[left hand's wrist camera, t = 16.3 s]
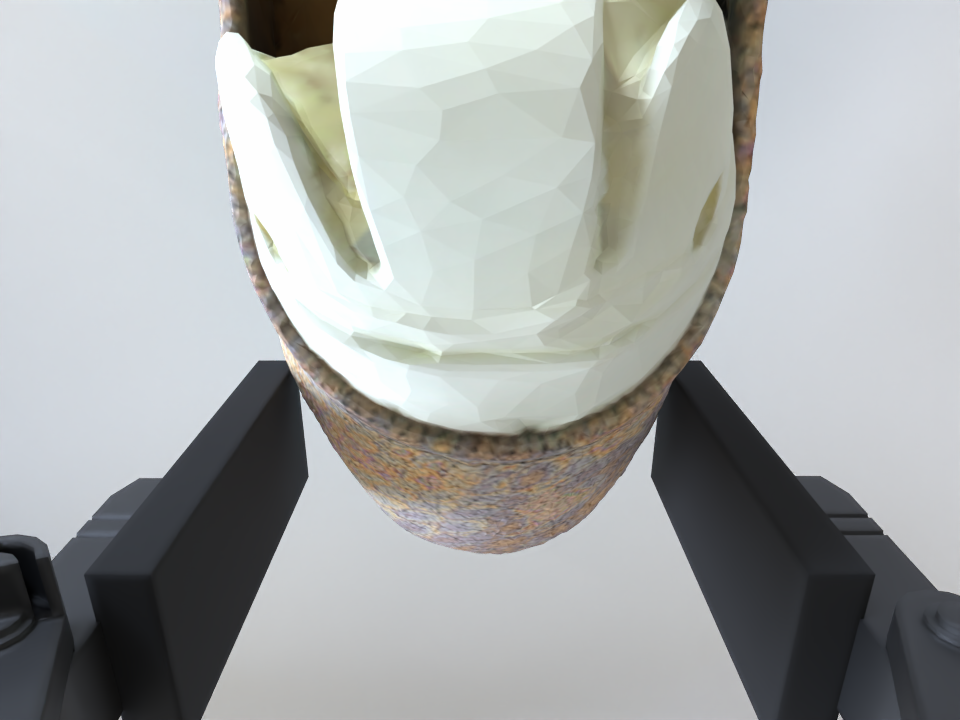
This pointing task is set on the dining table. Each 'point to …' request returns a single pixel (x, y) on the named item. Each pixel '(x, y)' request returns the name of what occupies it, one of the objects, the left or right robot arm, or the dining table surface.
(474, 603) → the dining table surface
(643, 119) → the speckled felt slipper
